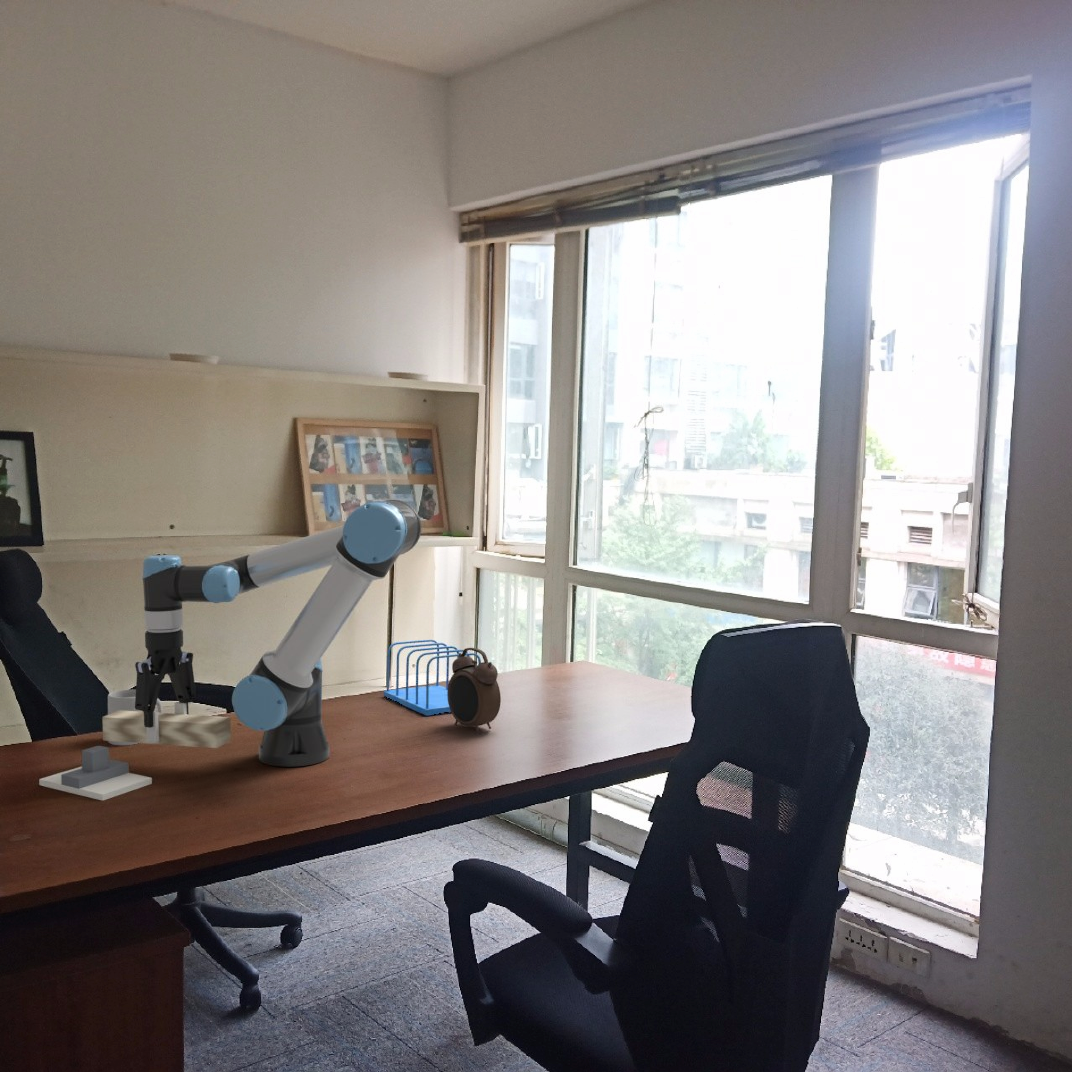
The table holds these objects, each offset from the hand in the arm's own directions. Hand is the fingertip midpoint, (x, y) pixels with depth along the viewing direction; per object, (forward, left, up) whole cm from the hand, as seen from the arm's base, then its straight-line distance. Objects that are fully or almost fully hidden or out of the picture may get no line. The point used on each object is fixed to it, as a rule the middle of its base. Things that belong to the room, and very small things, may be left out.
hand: (167, 737), depth 222 cm
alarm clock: (-38, -61, -7) cm, 72 cm away
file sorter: (-15, -78, -7) cm, 80 cm away
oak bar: (0, 0, -1) cm, 1 cm away
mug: (+23, -12, -7) cm, 26 cm away
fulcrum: (+4, +15, -7) cm, 17 cm away
